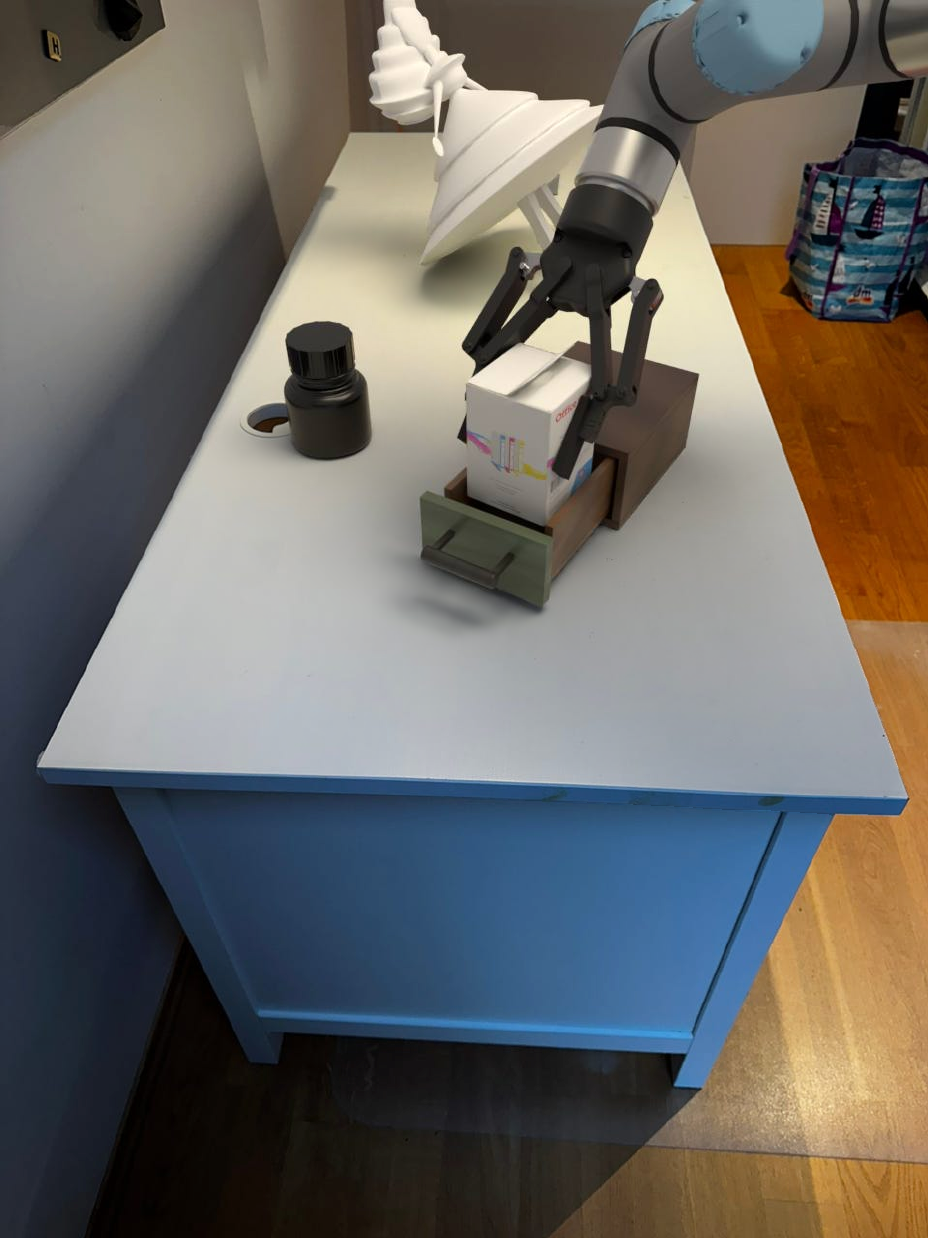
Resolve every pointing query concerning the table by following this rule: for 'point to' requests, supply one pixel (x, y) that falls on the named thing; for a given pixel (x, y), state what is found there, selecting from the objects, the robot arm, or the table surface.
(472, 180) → the figurine
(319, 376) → the ink bottle
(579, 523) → the drawer
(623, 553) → the table surface
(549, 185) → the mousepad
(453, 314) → the table surface
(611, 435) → the cabinet
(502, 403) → the ink box
